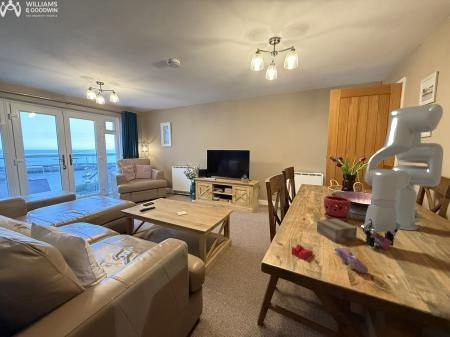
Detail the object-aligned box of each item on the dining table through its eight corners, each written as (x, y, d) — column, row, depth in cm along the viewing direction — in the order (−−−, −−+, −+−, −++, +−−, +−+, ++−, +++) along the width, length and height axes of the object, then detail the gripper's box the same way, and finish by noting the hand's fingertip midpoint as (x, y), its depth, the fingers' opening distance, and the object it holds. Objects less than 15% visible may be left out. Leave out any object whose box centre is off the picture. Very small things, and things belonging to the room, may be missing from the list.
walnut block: (335, 230, 94) (336, 218, 93) (355, 240, 83) (356, 227, 82) (316, 232, 91) (317, 220, 90) (335, 243, 80) (335, 229, 80)
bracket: (303, 261, 68) (303, 253, 68) (291, 255, 72) (291, 247, 71) (312, 255, 72) (313, 247, 71) (300, 249, 76) (301, 242, 75)
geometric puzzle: (398, 244, 74) (383, 225, 77) (395, 250, 70) (380, 230, 73) (378, 249, 79) (366, 231, 82) (375, 255, 75) (361, 235, 78)
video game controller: (337, 261, 70) (330, 245, 69) (348, 255, 70) (341, 239, 69) (358, 279, 60) (350, 261, 59) (370, 273, 60) (363, 255, 59)
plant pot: (349, 224, 100) (351, 202, 99) (322, 219, 107) (323, 199, 105) (349, 217, 111) (350, 197, 110) (324, 213, 118) (325, 194, 116)
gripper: (392, 199, 79) (388, 239, 81) (355, 200, 77) (352, 241, 79) (412, 204, 72) (407, 248, 74) (372, 206, 70) (368, 251, 71)
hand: (379, 244), depth 76 cm, fingers closed on geometric puzzle, 8 cm apart
